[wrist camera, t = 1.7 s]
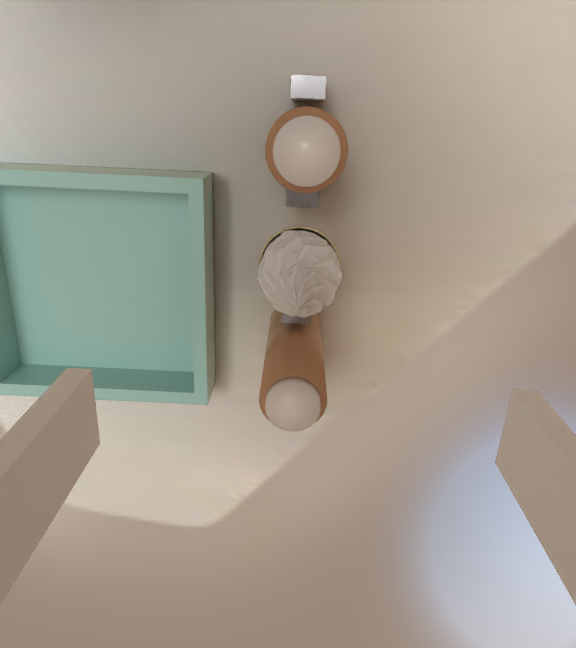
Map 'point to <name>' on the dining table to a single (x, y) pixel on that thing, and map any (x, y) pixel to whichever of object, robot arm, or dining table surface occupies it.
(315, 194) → the clip row
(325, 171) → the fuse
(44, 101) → the dining table surface
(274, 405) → the cylinder
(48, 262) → the tray
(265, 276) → the ice cream cone
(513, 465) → the robot arm
